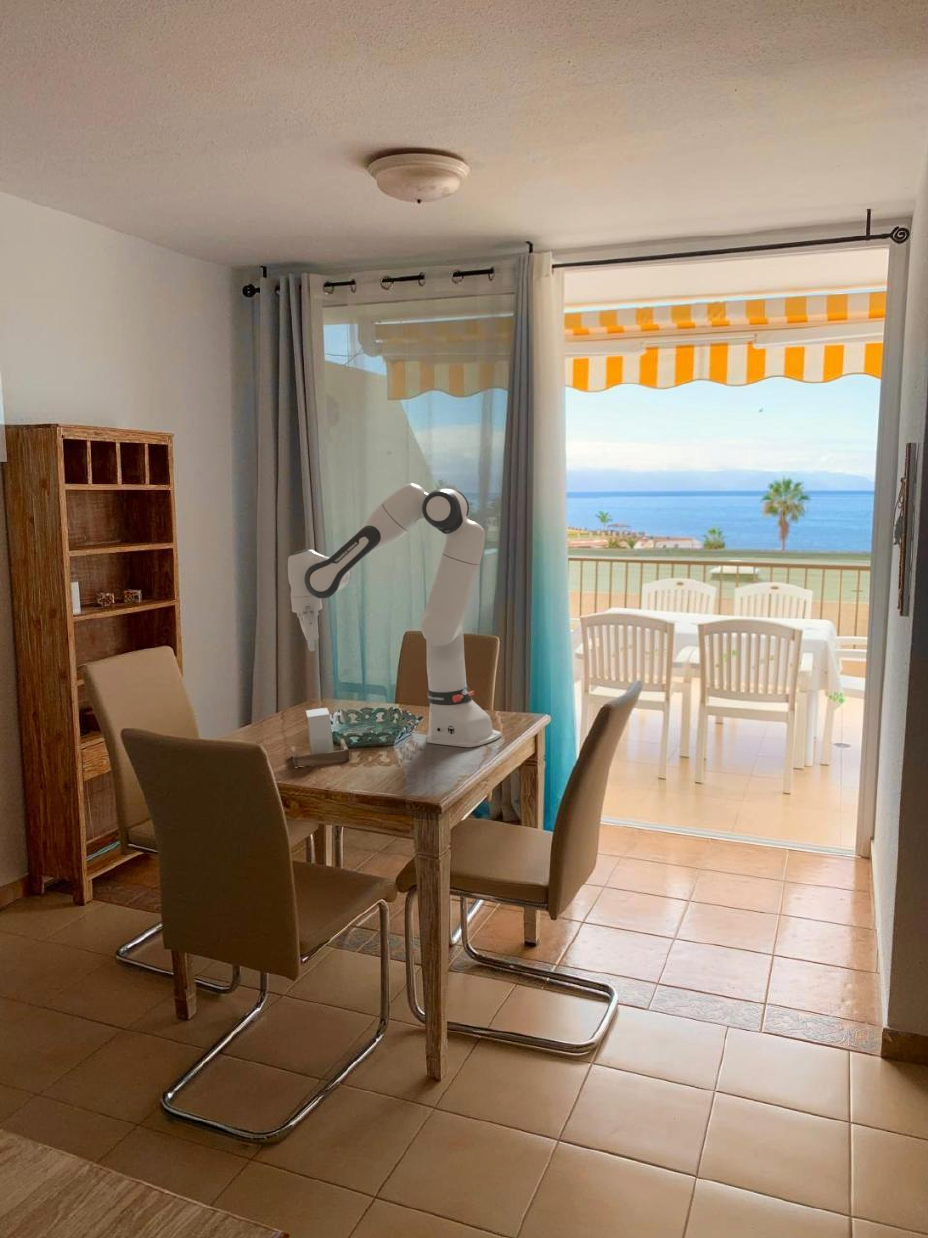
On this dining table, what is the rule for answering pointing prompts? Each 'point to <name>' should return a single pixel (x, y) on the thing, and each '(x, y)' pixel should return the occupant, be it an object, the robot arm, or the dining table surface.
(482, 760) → the dining table surface
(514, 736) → the dining table surface
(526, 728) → the dining table surface
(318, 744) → the small box
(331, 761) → the walnut bay
